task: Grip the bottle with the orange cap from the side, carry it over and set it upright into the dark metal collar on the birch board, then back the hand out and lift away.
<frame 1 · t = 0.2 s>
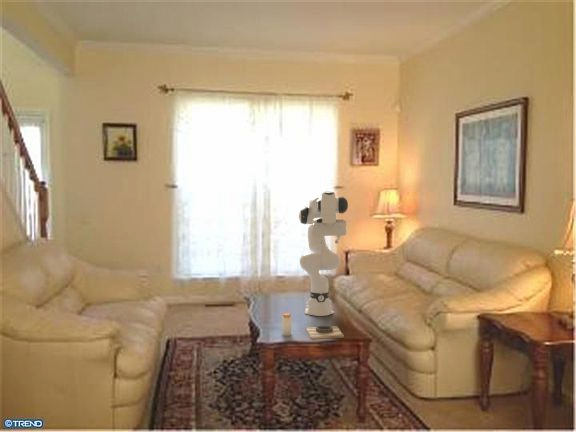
hand: (328, 243, 304), 48 cm above the table, tool pointing down, fingers open, 8 cm apart
board: (324, 333, 292), on the table
bottle: (286, 334, 290), on the table
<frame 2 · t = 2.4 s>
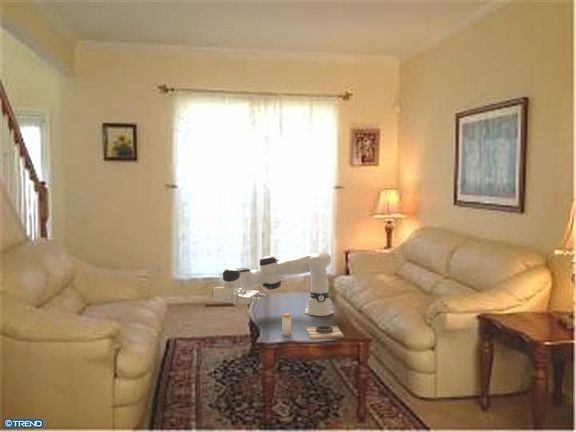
hand: (262, 298, 292), 19 cm above the table, tool horizontal, fingers open, 8 cm apart
nothing on the table moved.
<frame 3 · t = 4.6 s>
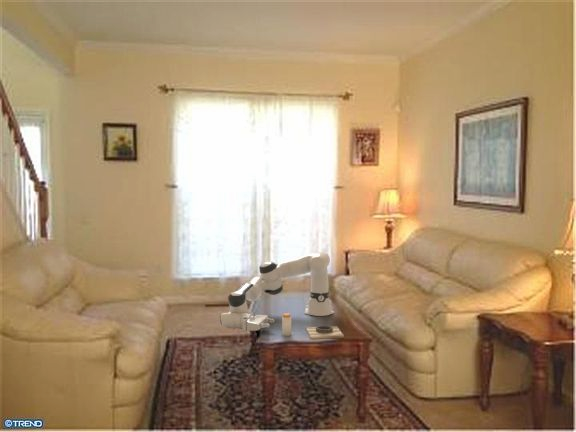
hand: (271, 323, 291), 6 cm above the table, tool horizontal, fingers open, 8 cm apart
nothing on the table moved.
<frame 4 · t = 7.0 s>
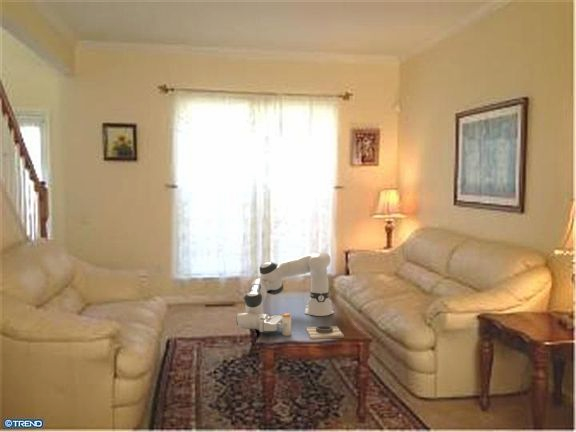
hand: (288, 323, 289), 6 cm above the table, tool horizontal, fingers closed on bottle, 5 cm apart
bottle: (286, 334, 290), on the table, touching gripper
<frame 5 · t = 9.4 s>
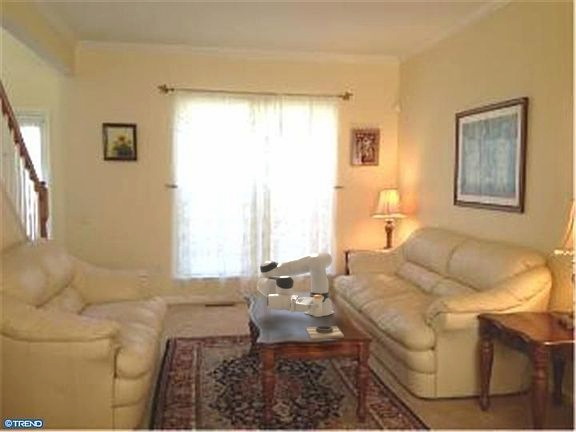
hand: (319, 304, 290), 16 cm above the table, tool horizontal, fingers closed on bottle, 5 cm apart
bottle: (317, 315, 290), point 10 cm above the table, touching gripper
when the fingers open (9 cm above the table, at t = 12.2 s): bottle drops 1 cm, resting on board.
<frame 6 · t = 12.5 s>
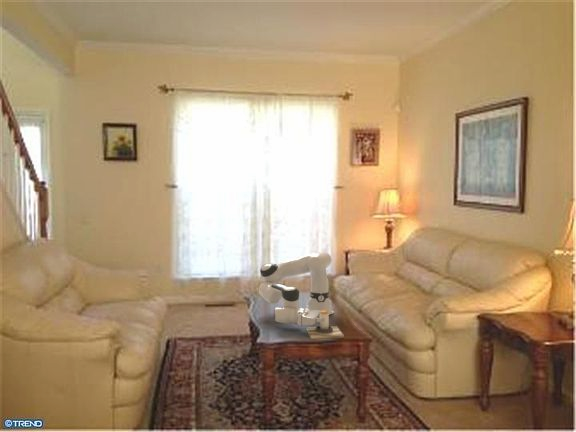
hand: (325, 317, 291), 9 cm above the table, tool horizontal, fingers open, 8 cm apart
bottle: (324, 331, 292), point 1 cm above the table, touching board
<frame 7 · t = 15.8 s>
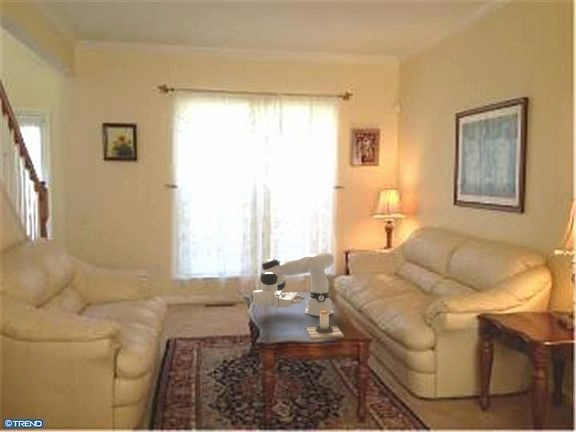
hand: (303, 299, 293), 18 cm above the table, tool horizontal, fingers open, 8 cm apart
nothing on the table moved.
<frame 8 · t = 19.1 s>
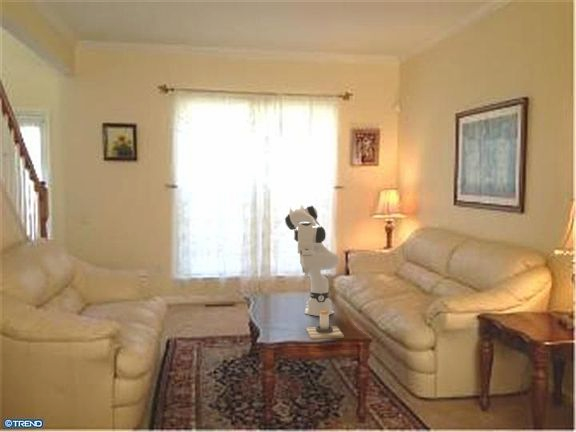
hand: (305, 274, 302), 31 cm above the table, tool pointing down, fingers open, 8 cm apart
nothing on the table moved.
at the end: bottle 0.1 cm off-centre on the board, point 1.2 cm above the board's base; bottle tilted 0°; the gripper is holding nothing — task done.
